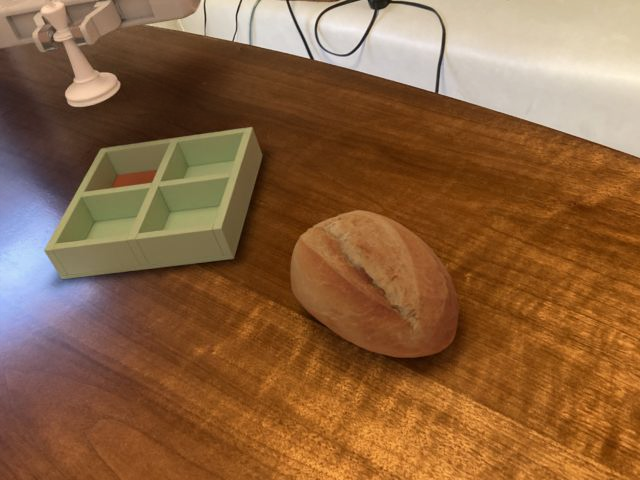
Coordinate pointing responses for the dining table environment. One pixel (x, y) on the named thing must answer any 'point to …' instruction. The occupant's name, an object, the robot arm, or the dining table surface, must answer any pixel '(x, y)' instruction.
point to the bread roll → (375, 285)
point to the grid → (158, 205)
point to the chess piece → (79, 63)
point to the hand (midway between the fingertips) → (62, 40)
